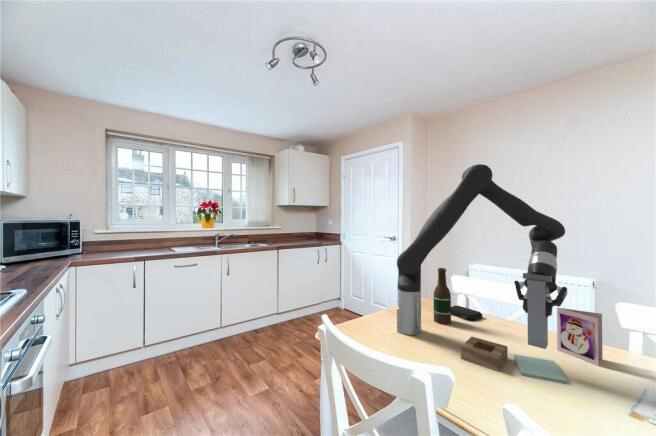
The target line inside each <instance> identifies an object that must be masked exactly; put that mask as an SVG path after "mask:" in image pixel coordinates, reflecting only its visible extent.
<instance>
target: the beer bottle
mask: <svg viewBox="0 0 656 436" xmlns="http://www.w3.org/2000/svg"><path fill="white" fill-rule="evenodd" d="M446 272H447V269H446V268H445V267H439V268H438V269H437V273H438V275H437V285H436V287H435V289H434V291H433V322H435V323H437V324H439V323H440V324H439V325H450V324H451V323H452V315H451V306H452V299H451V298H452V297H451V296H452V295H451V291H450V289H449V287H448V285H447V275H446Z"/></svg>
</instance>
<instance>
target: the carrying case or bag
mask: <svg viewBox="0 0 656 436" xmlns="http://www.w3.org/2000/svg"><path fill="white" fill-rule="evenodd" d="M451 314H453V315H452V316H454V315H455V317H457V316H458V318H460V317H461V319H465V320H467V321H471V322H472V321H476V320H478V319H482V318H483V313H482V312H481V311H479V310H478V311H477V310H474V309H471V308H467V307H464V306H461V305H457V304H456V305H451Z"/></svg>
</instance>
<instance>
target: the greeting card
mask: <svg viewBox="0 0 656 436" xmlns="http://www.w3.org/2000/svg"><path fill="white" fill-rule="evenodd" d="M556 342H557V343H556V345H557V347H556V348H557V351H559V352H561V353H564V354H566V355H568V356H572V357H574V358H576V359H578V360H581V361H584V362H587V363H590V364H591V365H594V366H597V367H599V360H603V313H600V312H592V311H591V312H590V311H586V310H585V311H584V310H578V309H577V310H576V309H570V308H563V307H556Z"/></svg>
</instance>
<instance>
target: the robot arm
mask: <svg viewBox="0 0 656 436" xmlns="http://www.w3.org/2000/svg"><path fill="white" fill-rule="evenodd" d="M492 179H493V171H492V169H491V167H489V166H488V165H486V164H481V163H478V164H473V165H471V166H470V167H468V168H466V169H465V170H464V171H463V173H462V175H461V181H460V183H459V184H458V185H457V187H456V188H455V190H454V191H453V192H452V193H451V194H450V195H448V197H447V198H446V199H445V200H444V201H442V203H440V204H439V206H437V208H436V209H435V210H434V211H433V212H432V214H431V215H430V216H429V217H428V219H427V220H426V222H424V224H423V226H422V227H421V229H420V231H419V233H418V234H417V236H416V237H415V238H414V240H413V242H412V243H411V244H410V245H409V246H408V247H407V248H406V249H405V250H404V251H402V252H401V253H400V254H399V255H398V256H397V259H396V266H397V269H398V271H397V272H398V276H397V308H396V332H398V333H401V334H402V335H403V334H404V335H406V336H417V335H420V334H422V289H421V288H422V264H423V263H424V261H425V259H427V257H428V255H429V254H430V252H431V251H432V250H433V249H434V248H435V247H436V246H437V245H438V244H439V243H440V242H441V241H442V240H443V239H444V238H445V237H446V236H447V235H448V234H449V233H450V232H451V230H452V229H453V227H454V226H455V225H456V224H457V223H458V221H460V219H461V218H462V216H463V214H464V213H465V211H466V210H467V209H468V207H469V206H470V205H471V203H473V201H474V200H475V198H477V197H478V196H479V195H481V196H482V197H483V198H485V199H487V200H488V201H489V202H491V204H492V203H493V205H495V206H496V207H497V208H499V209H500V210H501V211H502V212H504V214H506V215H508V216H509V217H510V218H511V219H512V220H514V221H515V222H516V223H517V224H518V225H520V226H522V227H530V226H533V227H532V228H531V229H530V231H529V233H528V237H529V238H528V239H529V241H530V245H531V251H530V257H529V260H528V267H527V272H526V273H530V274H540V275H549V276H552V282H547V303H546V311H545V315H546V317H548V318H549V317H551V316H553V308H554V307H557V308H560V307H561V306H562V304H563V302H564V301H565V299H566V297H567V295H568V287H566V286H562V287H561V286H558V285H557V282H556V279H557V271H558V268H557V267H558V261H557V259H558V258H557V257H558V245H556V243H554V242H553V241H555V240H558V239H561V238H562V237H564V236H565V235H566V229H565V226H564V225H563V224H562V222H560V221H559V220H557V219H555V218H553V217H551V216H549V215H547V214H544V213H542V212H539V211H537V210H536V209H534V208H533V207H532V206H531V205H529V204H528V203H526V202H525V201H524V200H522V199H521V198H519V197H517V196H516V195H514V194H512V193H510V192H509V191H507V190H505V189H503V188H502V187H501V186H499V185H498V184H497V183H495V181H493V180H492ZM527 280H528V279H524V280H523V281H519V280H514V282H513V283H514V286H515V290H516V295H517V298H518V300H519V301H523V302H522V310H523V311H524V312H525V313H526V314H527V311H528V308H527V291H526V293H524V294H522V289H523V288H524V287H526V289H527ZM555 291H557V296H556V297H555V299H553V298H552V296H551V294H553V293H554V292H555Z"/></svg>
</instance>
